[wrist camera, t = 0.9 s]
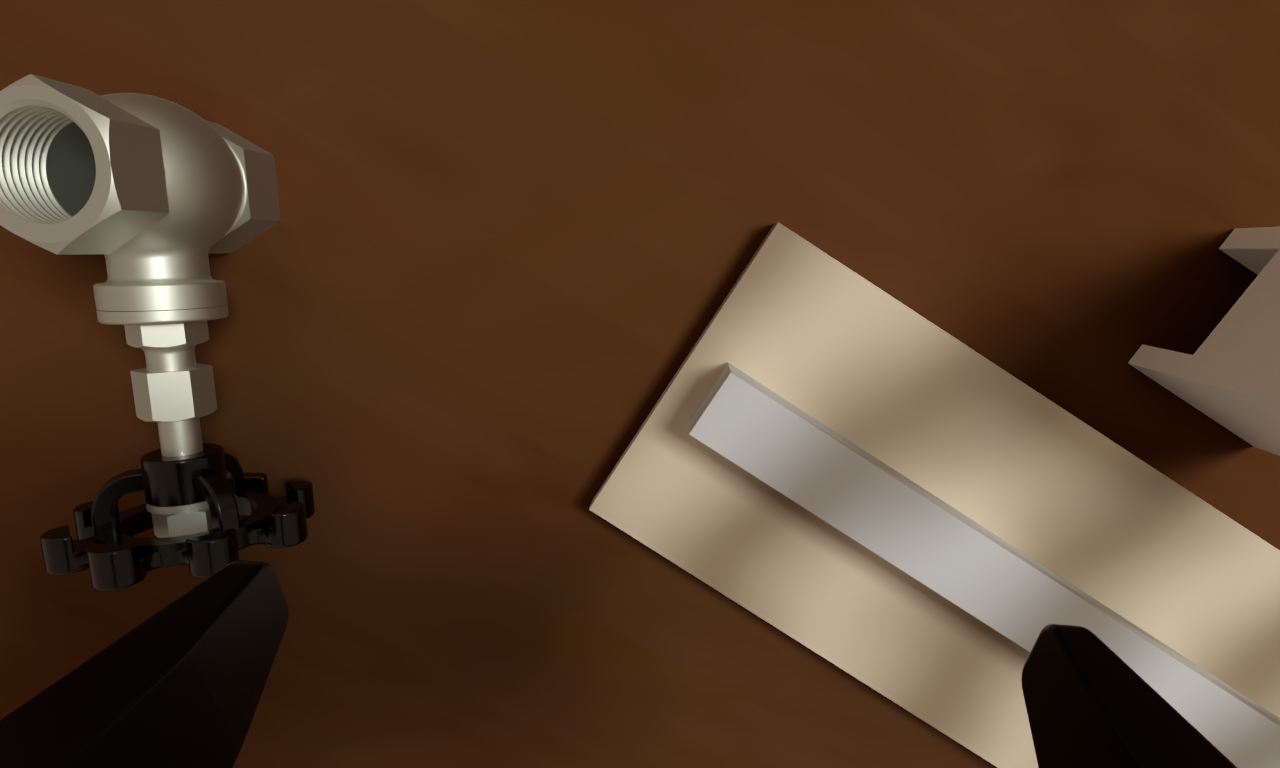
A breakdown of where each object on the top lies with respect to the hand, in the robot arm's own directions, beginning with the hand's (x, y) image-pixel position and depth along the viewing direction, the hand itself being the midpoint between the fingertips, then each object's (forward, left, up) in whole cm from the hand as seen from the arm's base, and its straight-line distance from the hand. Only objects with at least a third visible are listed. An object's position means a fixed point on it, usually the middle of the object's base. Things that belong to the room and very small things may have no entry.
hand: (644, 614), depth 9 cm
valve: (+9, +10, -14) cm, 20 cm away
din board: (-11, -6, -14) cm, 19 cm away
